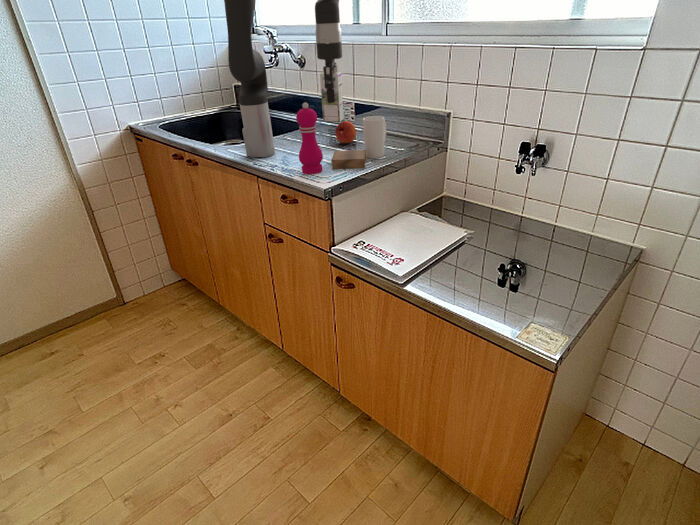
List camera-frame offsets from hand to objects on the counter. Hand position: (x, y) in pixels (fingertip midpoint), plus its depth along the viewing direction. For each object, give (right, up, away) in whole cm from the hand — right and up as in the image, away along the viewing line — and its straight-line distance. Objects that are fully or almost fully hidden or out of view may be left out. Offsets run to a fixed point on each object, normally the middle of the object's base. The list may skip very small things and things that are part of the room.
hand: (332, 100), depth 134 cm
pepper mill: (-6, -24, -4) cm, 25 cm away
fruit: (+4, -7, +22) cm, 24 cm away
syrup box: (0, -6, +3) cm, 6 cm away
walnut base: (+6, -20, 0) cm, 21 cm away
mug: (+15, -16, +7) cm, 23 cm away
